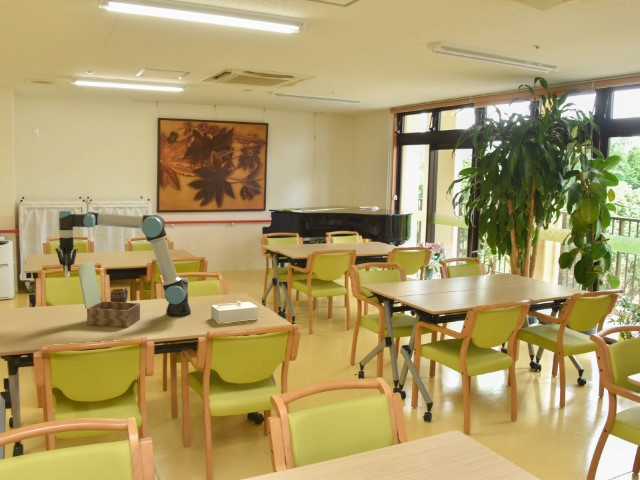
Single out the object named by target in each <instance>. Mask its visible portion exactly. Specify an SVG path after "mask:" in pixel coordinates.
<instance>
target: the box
mask: <svg viewBox="0 0 640 480" xmlns="http://www.w3.org/2000/svg"><path fill="white" fill-rule="evenodd" d="M86 320H87V321H86V322H87V325H86V326H92V327H105V328H106V327H107V328H108V327H110V328H111V327H112V328H124V329H125V328H127V329H128V328H130V327H131V326H132V325H134V324H135V323H137V322H138V321H141V303H140V302H139V303H138V302H126V303H124V302H110V301H106V300H105V301H104V300H101V302H99V303H97V304H95V305H93V306H91V307H89V308H87V309H86Z"/></svg>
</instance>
